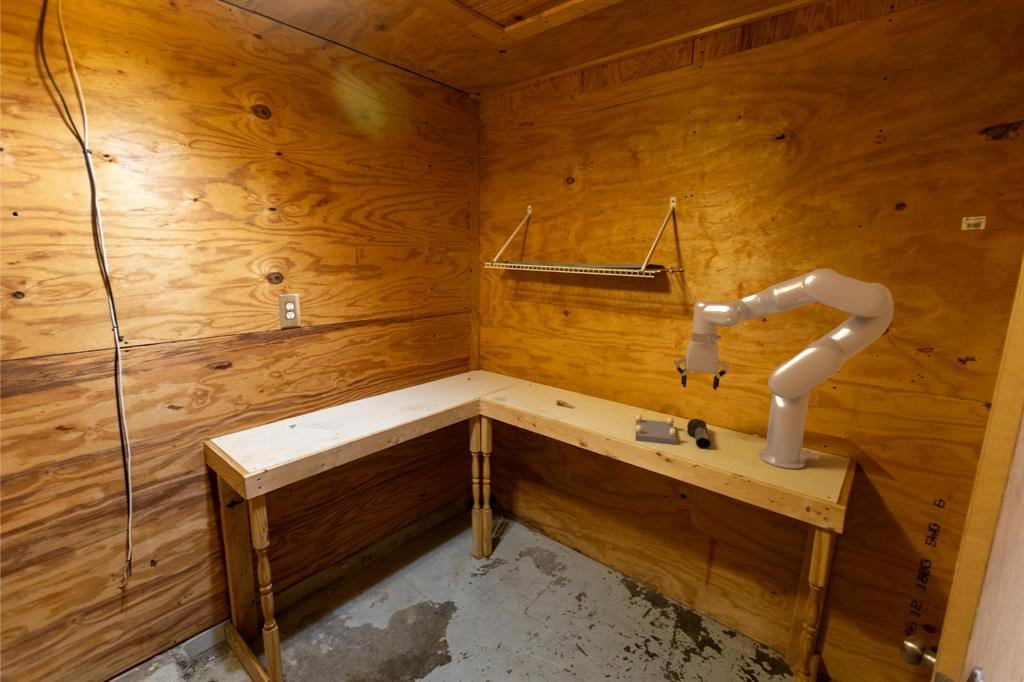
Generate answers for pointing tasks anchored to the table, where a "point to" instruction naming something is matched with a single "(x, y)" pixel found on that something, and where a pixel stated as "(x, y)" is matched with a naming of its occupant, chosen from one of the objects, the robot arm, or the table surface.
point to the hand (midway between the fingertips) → (699, 387)
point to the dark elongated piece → (699, 433)
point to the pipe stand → (655, 431)
